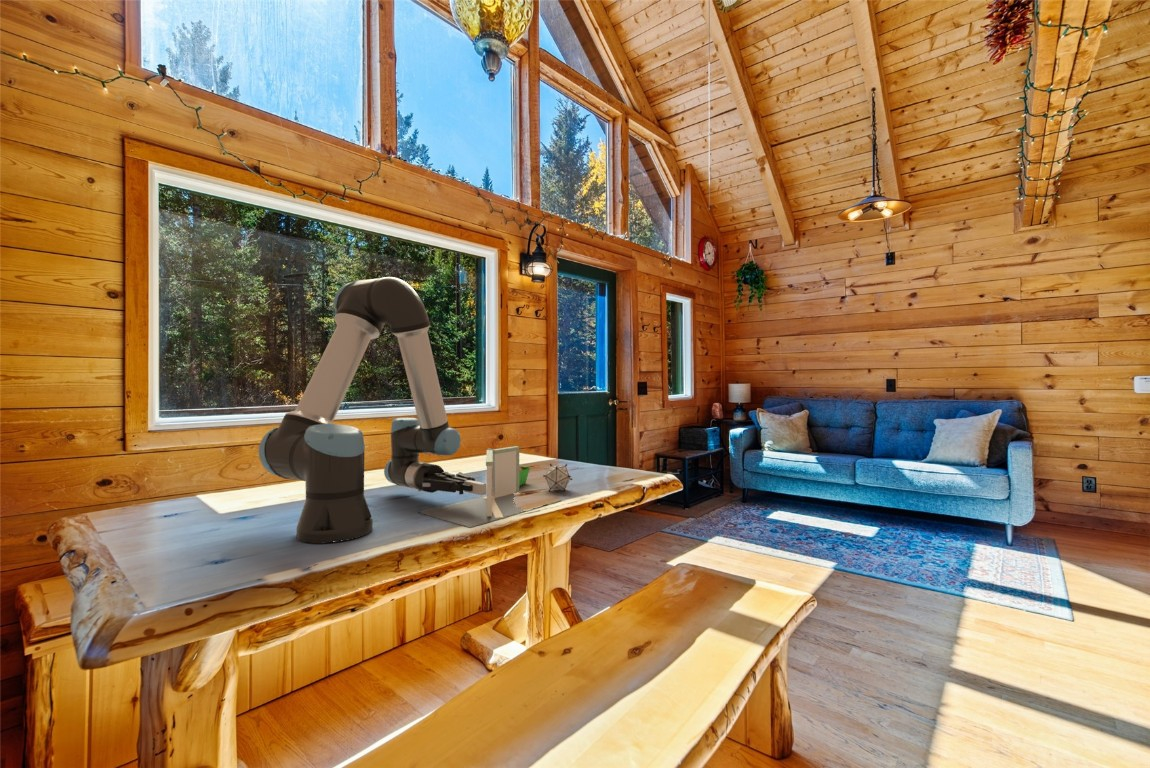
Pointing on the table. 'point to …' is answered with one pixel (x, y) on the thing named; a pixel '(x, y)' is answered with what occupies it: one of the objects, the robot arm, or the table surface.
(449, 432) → the robot arm
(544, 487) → the table surface
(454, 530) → the table surface
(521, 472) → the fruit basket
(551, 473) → the game die
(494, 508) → the board
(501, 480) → the fixed fence panel
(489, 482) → the beige flat upright board
